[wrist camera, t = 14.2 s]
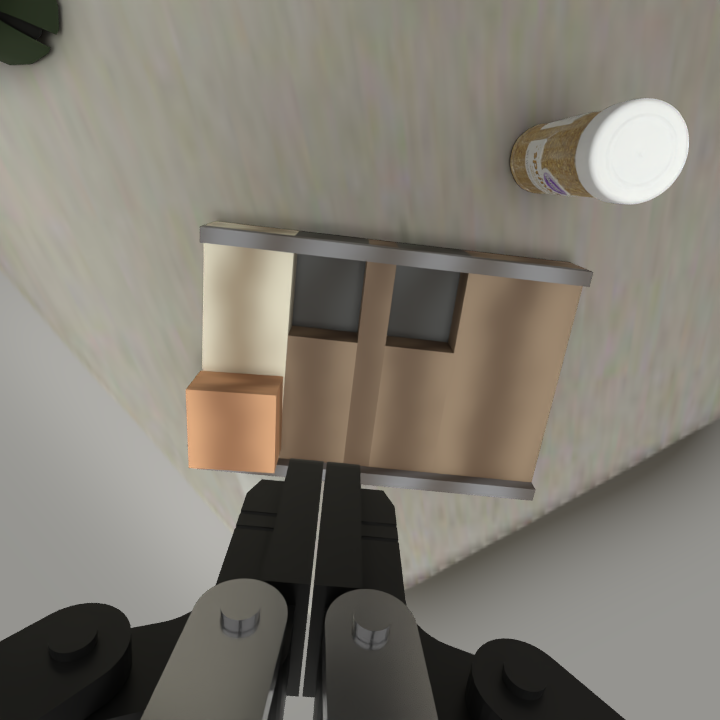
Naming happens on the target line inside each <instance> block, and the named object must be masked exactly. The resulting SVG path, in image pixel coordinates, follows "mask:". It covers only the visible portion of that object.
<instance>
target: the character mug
mask: <svg viewBox="0 0 720 720" xmlns="http://www.w3.org/2000/svg"><path fill="white" fill-rule="evenodd" d="M42 29H44V30H47V31H49V32H51V33H54V34H56V35H57V33H58V31H59V18H58V4H57V2H56V0H0V61H1V62H4V63H6V64H9V65H19V64H32V63H34V62H35V61H37V60H39V59H40V58H42V57H43V56H45V55H46V54H48V53H49V50H50V47H48V46H46V45H44V44H42V43H40V42H38V41H36V40H37V39H38V38H39V37H40V36H41V35H42Z"/></svg>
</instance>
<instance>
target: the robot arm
mask: <svg viewBox="0 0 720 720" xmlns="http://www.w3.org/2000/svg"><path fill="white" fill-rule="evenodd" d="M323 464H324V461H315V460H305V459H294V458H290V460H289V465H288V469H287V473H286V478H285V481H274V480H263V479H262V480H261V481H260V482H259V483H257V484H256V485H255V486H254V487H253V488H252V489H251V490H250V491H249V492H248V493H247V494H246V497H245V500H244V503H243V506H242V509H241V514H240V515H239V518H238V521H237V524H236V528H235V530H234V533H233V536H232V539H231V542H230V545H229V547H228V551H227V553H226V556H225V559H224V562H223V565H222V568H221V571H220V574H219V577H218V580H217V583H216V585H215V586H214V587H212V588H211V589H209V590H208V591H206V592H205V593H204V594H203V595H202V596H201V597H200V598H199V600H198V601H197V602H196V604H195V606H194V608H193V610H192V611H191V612H189V613H187V614H185V615H183V616H181V617H178V618H176V619H173V620H169V621H166V622H161V623H156V624H150V625H145V626H140V627H134V628H130V623H129V621H128V619H127V617H126V616H125V614H124V613H122V612H121V611H120V610H119V609H117V608H115V607H113V606H110V605H106V604H100V603H85V604H78V605H74V606H70V607H67V608H64V609H61V610H58V611H57V612H54V613H52V614H50V615H48V616H46V617H45V618H43V619H41V620H39V621H37V622H35V623H33V624H32V625H30V626H28V627H26V628H24V629H23V630H21V631H19V632H17V633H15V634H13V635H11V636H10V637H8V638H6V639H4V640H2V641H1V642H0V720H283V715H284V707H285V699H286V695H287V696H299V686H300V677H301V667H302V659H303V649H304V640H305V632H306V623H307V614H308V604H309V595H310V586H311V577H312V568H313V559H314V550H315V540H316V531H317V522H318V512H319V502H320V493H321V483H322V474H323ZM303 696H305V697H315V701H314V715H313V720H625V719H624V718H622V716H620V715H619V714H618V713H617V712H616V711H614V710H613V709H612V708H611V707H610V706H608V705H607V704H606V703H605V702H604V701H602V700H601V699H600V698H599V697H598V696H596V695H595V694H594V693H593V692H592V691H590V690H589V689H588V688H587V687H586V686H585V685H583V684H582V683H581V682H580V681H579V680H577V679H576V678H575V677H574V676H573V675H571V674H570V673H569V672H568V671H567V670H566V669H564V668H563V667H562V666H560V664H558V663H557V662H556V661H555V660H554V659H552V658H551V657H550V656H549V655H547V654H546V653H545V652H543V651H542V650H540V649H538V648H537V647H535V646H532V645H530V644H528V643H526V642H522V641H519V640H514V639H495V640H492V641H489V642H487V643H485V644H484V645H482V646H481V647H480V648H479V649H478V650H477V652H476V654H475V655H473V654H471V653H468V652H465V651H462V650H460V649H457V648H454V647H452V646H449V645H446V644H444V643H442V642H440V641H438V640H436V639H435V638H433V637H431V636H430V635H429V634H427V633H426V632H425V631H423V630H422V629H421V628H420V627H419V626H418V625H417V623H416V620H415V618H414V616H413V614H412V612H411V611H410V610H409V609H408V607H407V606H406V601H405V593H404V584H403V576H402V567H401V559H400V550H399V543H398V533H397V528H396V515H395V507H394V505H393V504H392V502H391V501H390V500H389V498H388V497H387V496H386V494H385V493H384V491H381V490H371V489H361V473H360V465H358V464H348V463H337V462H327V465H326V474H325V483H324V493H323V502H322V511H321V521H320V530H319V540H318V549H317V559H316V569H315V579H314V588H313V598H312V608H311V618H310V628H309V639H308V648H307V657H306V667H305V678H304V687H303Z"/></svg>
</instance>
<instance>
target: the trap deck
mask: <svg viewBox="0 0 720 720" xmlns="http://www.w3.org/2000/svg"><path fill="white" fill-rule="evenodd" d="M200 242H201V243H204V275H203V348H202V371H213V372H227V373H242V374H256V375H271V376H283V400H282V433H281V451H280V454H279V458H278V462H277V465H276V469H275V473H262V472H246V471H230V470H215V471H226V472H236V473H247V474H257V475H268V476H279V477H286V473H287V469H288V465H289V460H290V458H294V459H305V460H315V461H324V464H323V474H322V481H325V474H326V465H327V462H337V463H348V464H358V465H360V473H361V484H363V485H373V486H384V487H395V488H405V489H416V490H426V491H437V492H447V493H458V494H468V495H479V496H489V497H500V498H511V499H521V500H533V497H534V493H535V488H534V486H533V485H532V483H531V481H532V478H533V474H534V470H535V466H536V462H537V459H538V455H539V451H540V447H541V443H542V440H543V436H544V432H545V428H546V424H547V420H548V417H549V413H550V409H551V405H552V401H553V398H554V394H555V390H556V386H557V382H558V379H559V375H560V371H561V367H562V363H563V359H564V356H565V352H566V348H567V344H568V340H569V337H570V333H571V329H572V325H573V321H574V317H575V314H576V310H577V306H578V302H579V298H580V295H581V291H582V287H583V286H585V287H590V283H591V279H592V275H593V272H592V271H589V270H587V269H584V268H582V267H580V266H577V265H575V264H573V263H570V262H562V261H553V260H545V259H536V258H527V257H519V256H510V255H502V254H493V253H484V252H476V251H467V250H459V249H450V248H442V247H433V246H424V245H416V244H407V243H399V242H390V241H381V240H373V239H364V238H356V237H347V236H339V235H330V234H321V233H313V232H304V231H296V230H287V229H278V228H270V227H261V226H253V225H244V224H236V223H227V222H218V221H215V222H212V223H209V224H206V225H203V226H200ZM197 469H198V468H197ZM205 470H214V469H205Z"/></svg>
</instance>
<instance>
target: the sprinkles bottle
mask: <svg viewBox="0 0 720 720" xmlns="http://www.w3.org/2000/svg"><path fill="white" fill-rule="evenodd" d="M688 150H689V135H688V129H687V126H686V123H685V121H684V119H683V117H682V116H681V114H680V113H679V112H678V110H677V109H675V108H674V107H673V106H672V105H670V104H668V103H667V102H664V101H662V100H659V99H654V98H640V99H634V100H629V101H624V102H620V103H617V104H615V105H612V106H610V107H608V108H606V109H605V110H603V111H600V112H599V111H598V112H590V113H585V114H581V115H577V116H573V117H570V118H566V119H562V120H558V121H554V122H551V123H549V124H540V125H536V126H535V127H532V128H530V129H528V130H527V131H526V132H525V133H523V134H522V135H521V136H520V137H519V138H518V139H517V141H516V143H515V145H514V147H513V149H512V154H511V159H510V168H511V172H512V175H513V176H514V179H515V180H516V182H517V184H518V185H519V186H520V187H521V188H523V189H525V190H526V191H529V192H532V193H539V194H542V193H548V194H553V195H563V196H583V197H594V198H597V199H599V200H601V201H604V202H608V203H615V204H638V203H642V202H646V201H648V200H651V199H653V198H655V197H657V196H658V195H660V194H661V193H663V192H664V191H665V190H666V189H668V188H669V187H670V186H671V185H672V184H673V182H674V181H675V180H676V179H677V177H678V176H679V174H680V172H681V171H682V169H683V166H684V164H685V162H686V159H687V155H688Z"/></svg>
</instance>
